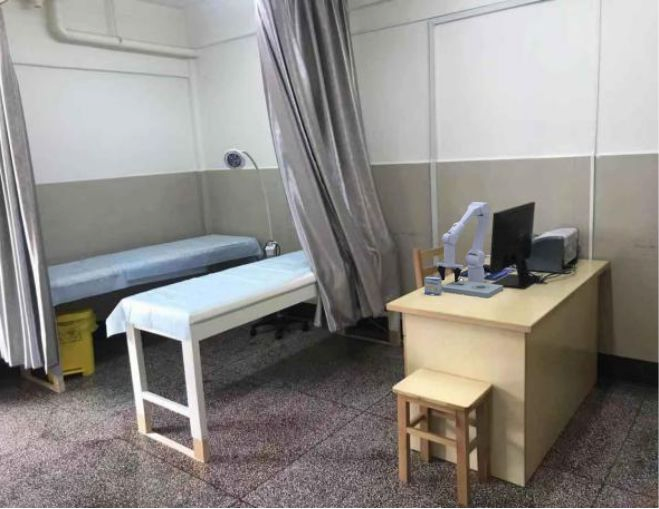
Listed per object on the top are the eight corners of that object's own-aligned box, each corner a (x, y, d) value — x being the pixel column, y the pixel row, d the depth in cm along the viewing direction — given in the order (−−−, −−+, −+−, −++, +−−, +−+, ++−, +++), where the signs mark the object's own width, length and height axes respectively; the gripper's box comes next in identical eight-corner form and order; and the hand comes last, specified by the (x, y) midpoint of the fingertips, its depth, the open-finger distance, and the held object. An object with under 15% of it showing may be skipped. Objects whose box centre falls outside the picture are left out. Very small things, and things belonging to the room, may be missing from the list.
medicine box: (424, 294, 281) (424, 278, 280) (427, 292, 285) (426, 276, 284) (439, 295, 278) (439, 279, 276) (441, 293, 282) (441, 277, 280)
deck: (440, 291, 285) (440, 286, 285) (457, 284, 299) (457, 279, 298) (488, 298, 269) (488, 293, 268) (503, 290, 282) (503, 285, 281)
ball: (459, 283, 289) (459, 277, 289) (465, 284, 287) (465, 277, 286) (456, 285, 287) (456, 278, 286) (462, 285, 285) (462, 279, 284)
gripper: (433, 256, 290) (433, 281, 293) (458, 258, 281) (458, 284, 283) (440, 253, 295) (440, 278, 298) (464, 256, 286) (464, 281, 289)
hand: (449, 281), depth 291 cm, fingers open, 7 cm apart
